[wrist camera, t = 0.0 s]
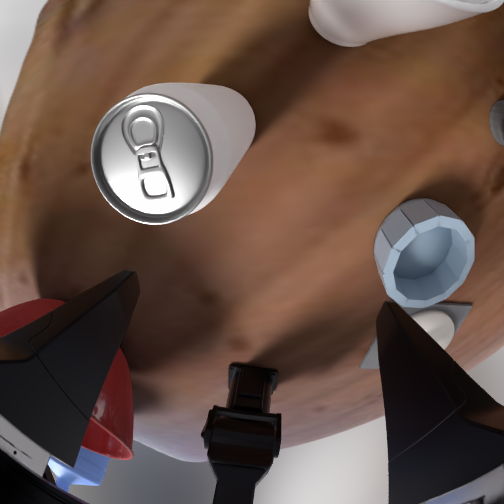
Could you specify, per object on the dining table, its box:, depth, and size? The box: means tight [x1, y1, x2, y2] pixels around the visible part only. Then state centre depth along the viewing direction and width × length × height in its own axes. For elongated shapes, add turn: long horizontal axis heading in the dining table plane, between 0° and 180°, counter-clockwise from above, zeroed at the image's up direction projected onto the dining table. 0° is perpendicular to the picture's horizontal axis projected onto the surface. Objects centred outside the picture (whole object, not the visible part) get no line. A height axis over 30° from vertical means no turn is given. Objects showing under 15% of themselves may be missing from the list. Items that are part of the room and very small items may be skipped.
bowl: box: [373, 198, 474, 308], centre depth 22 cm, size 9×9×4 cm
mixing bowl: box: [0, 298, 134, 460], centre depth 31 cm, size 28×28×15 cm
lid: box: [410, 310, 454, 349], centre depth 28 cm, size 10×10×5 cm
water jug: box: [48, 446, 110, 492], centre depth 41 cm, size 16×16×28 cm
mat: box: [359, 300, 472, 369], centre depth 30 cm, size 12×12×1 cm
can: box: [91, 83, 256, 225], centre depth 15 cm, size 6×6×12 cm
